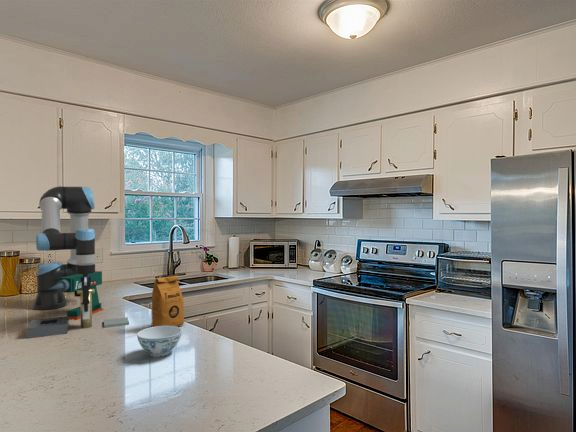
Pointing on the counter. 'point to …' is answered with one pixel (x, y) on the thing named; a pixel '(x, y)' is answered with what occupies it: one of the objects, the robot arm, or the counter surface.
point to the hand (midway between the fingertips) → (86, 317)
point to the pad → (116, 322)
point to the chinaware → (159, 339)
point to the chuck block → (48, 327)
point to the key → (84, 322)
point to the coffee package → (167, 303)
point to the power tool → (74, 284)
